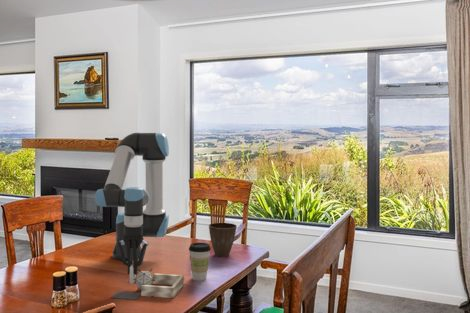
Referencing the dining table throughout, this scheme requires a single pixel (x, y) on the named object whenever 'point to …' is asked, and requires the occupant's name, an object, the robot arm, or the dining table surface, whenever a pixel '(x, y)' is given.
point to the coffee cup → (199, 260)
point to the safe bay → (163, 290)
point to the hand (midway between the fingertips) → (132, 281)
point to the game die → (144, 278)
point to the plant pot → (222, 237)
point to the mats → (126, 295)
